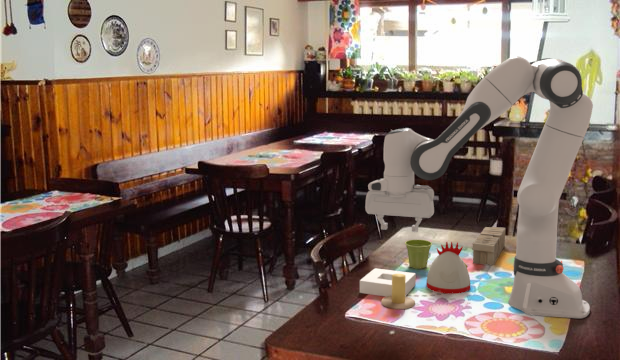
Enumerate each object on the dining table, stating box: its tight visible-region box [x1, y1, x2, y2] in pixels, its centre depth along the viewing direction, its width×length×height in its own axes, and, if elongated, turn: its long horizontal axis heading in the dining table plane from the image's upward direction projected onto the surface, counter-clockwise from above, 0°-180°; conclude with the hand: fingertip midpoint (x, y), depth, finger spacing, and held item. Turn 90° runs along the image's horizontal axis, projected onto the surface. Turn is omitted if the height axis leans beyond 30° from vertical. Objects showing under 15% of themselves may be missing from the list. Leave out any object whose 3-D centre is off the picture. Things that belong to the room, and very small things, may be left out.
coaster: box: [381, 295, 416, 310], centre depth 196 cm, size 10×10×1 cm
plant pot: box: [404, 239, 433, 270], centre depth 231 cm, size 9×9×9 cm
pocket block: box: [359, 267, 417, 297], centre depth 208 cm, size 14×14×4 cm
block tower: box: [471, 226, 506, 266], centre depth 245 cm, size 8×8×29 cm
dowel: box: [392, 274, 406, 304], centre depth 195 cm, size 4×4×8 cm
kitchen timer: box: [426, 241, 471, 295], centre depth 209 cm, size 14×14×15 cm
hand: (399, 230), depth 192 cm, fingers open, 8 cm apart
